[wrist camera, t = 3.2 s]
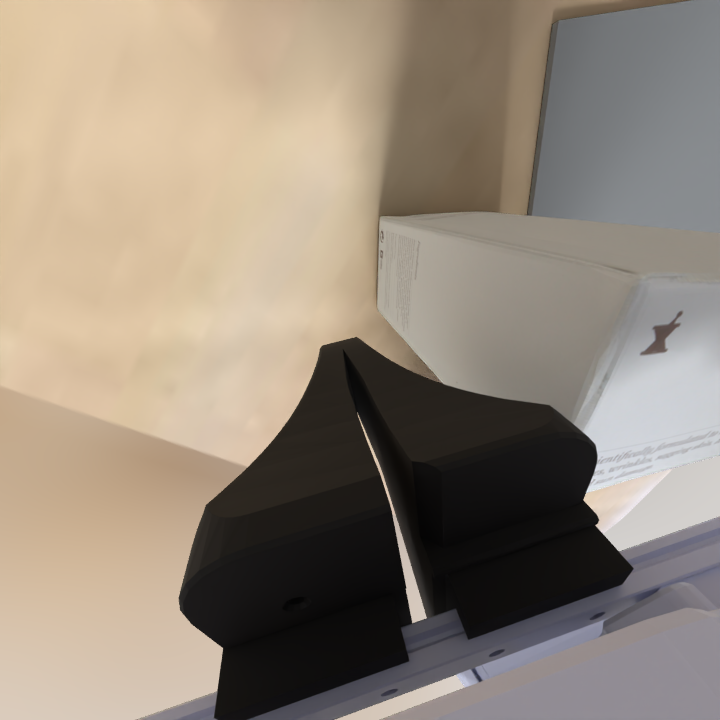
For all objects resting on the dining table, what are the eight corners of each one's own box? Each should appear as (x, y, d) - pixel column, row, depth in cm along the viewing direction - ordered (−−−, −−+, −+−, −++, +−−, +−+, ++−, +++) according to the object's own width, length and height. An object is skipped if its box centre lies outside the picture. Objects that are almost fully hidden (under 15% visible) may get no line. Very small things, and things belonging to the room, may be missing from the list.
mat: (691, 315, 27) (696, 317, 26) (507, 364, 25) (510, 367, 25) (852, -22, 16) (865, -26, 16) (552, 24, 14) (558, 20, 14)
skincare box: (374, 308, 20) (525, 520, 7) (377, 208, 17) (642, 277, 4) (487, 299, 21) (771, 462, 9) (508, 205, 18) (990, 251, 6)
